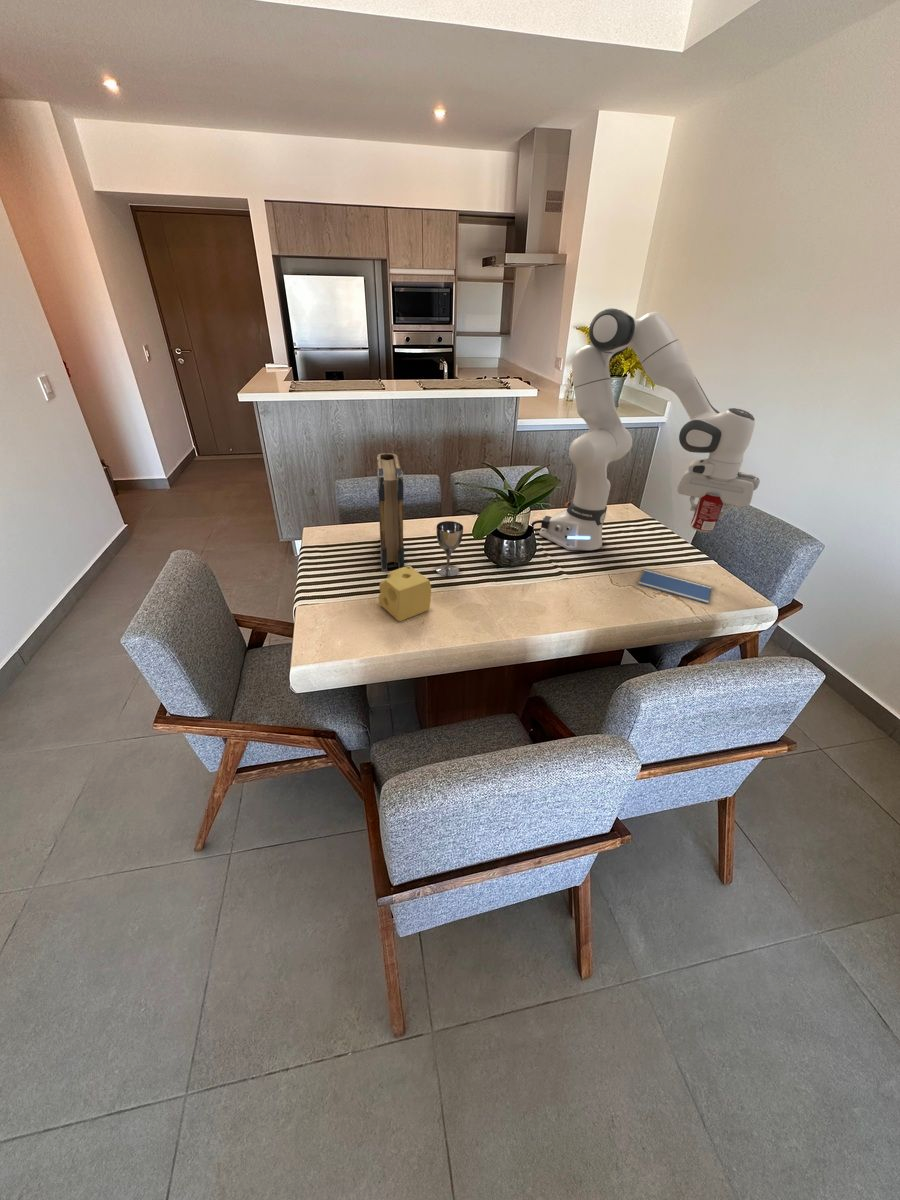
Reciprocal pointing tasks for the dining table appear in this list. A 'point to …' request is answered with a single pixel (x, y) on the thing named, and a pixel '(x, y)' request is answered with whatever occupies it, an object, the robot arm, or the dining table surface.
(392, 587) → the cheese
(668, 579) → the blue rectangular panel
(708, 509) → the soda can
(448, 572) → the wine glass
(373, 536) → the dining table surface
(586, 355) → the robot arm
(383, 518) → the decorative book
